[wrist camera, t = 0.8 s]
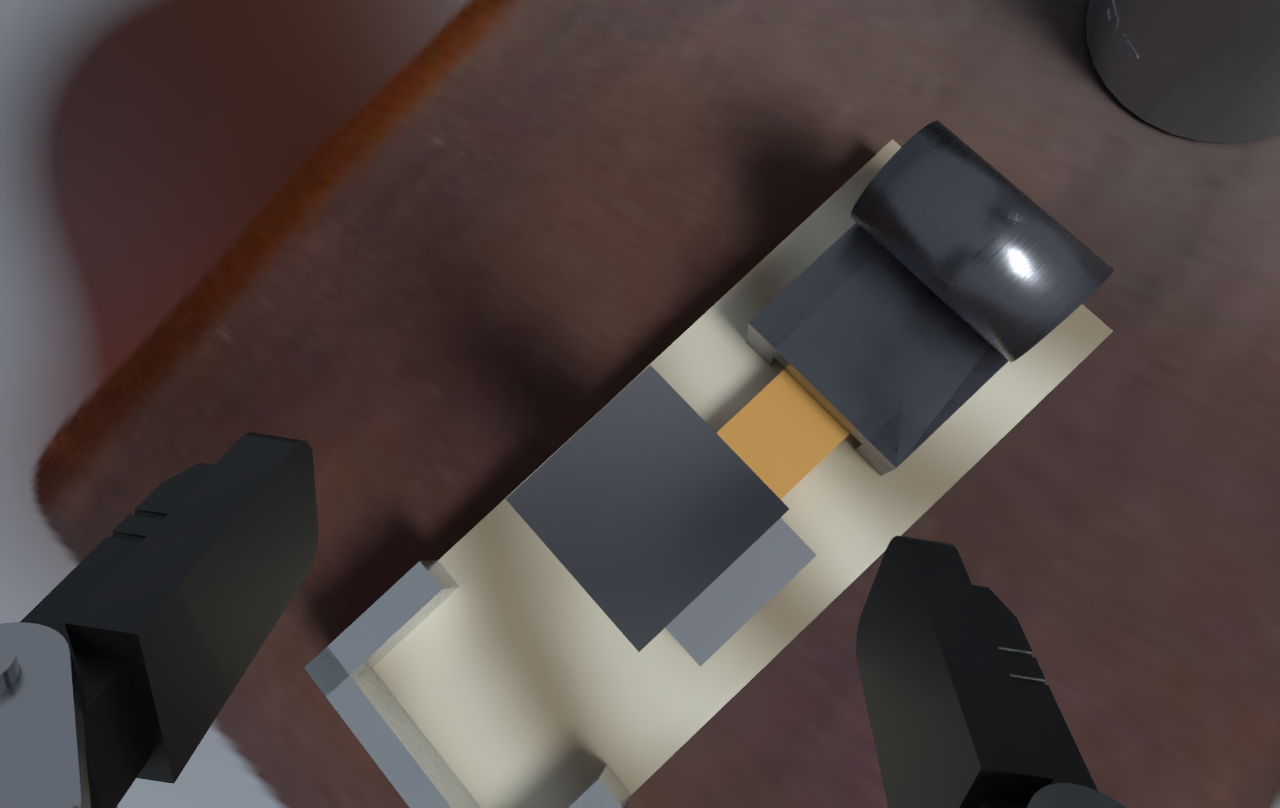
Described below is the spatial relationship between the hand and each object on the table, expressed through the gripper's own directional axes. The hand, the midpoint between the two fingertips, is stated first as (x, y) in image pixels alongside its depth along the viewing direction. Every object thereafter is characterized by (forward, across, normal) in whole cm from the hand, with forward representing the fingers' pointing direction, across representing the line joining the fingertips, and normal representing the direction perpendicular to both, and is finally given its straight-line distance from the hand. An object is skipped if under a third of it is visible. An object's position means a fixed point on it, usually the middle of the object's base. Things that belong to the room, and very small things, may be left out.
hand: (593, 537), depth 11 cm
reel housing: (+17, -9, +3) cm, 19 cm away
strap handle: (+15, -6, +6) cm, 17 cm away
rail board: (+15, -4, +10) cm, 18 cm away
